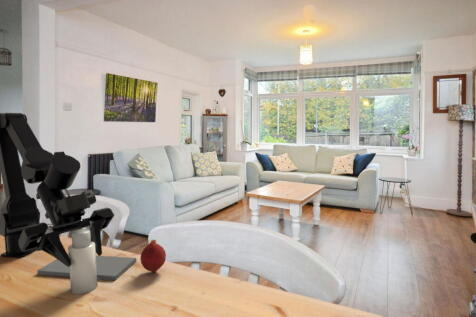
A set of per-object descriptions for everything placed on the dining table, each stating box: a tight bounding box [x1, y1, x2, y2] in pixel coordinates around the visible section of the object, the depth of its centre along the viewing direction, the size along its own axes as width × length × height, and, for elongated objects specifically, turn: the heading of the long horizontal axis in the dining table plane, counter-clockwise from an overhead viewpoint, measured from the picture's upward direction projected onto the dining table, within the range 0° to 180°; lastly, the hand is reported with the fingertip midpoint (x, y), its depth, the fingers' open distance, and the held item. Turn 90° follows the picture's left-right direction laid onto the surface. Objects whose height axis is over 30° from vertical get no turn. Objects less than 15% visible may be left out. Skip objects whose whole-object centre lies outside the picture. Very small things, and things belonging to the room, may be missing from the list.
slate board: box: [36, 255, 137, 281], centre depth 79 cm, size 20×10×1 cm, turn 81°
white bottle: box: [67, 228, 98, 295], centre depth 69 cm, size 5×5×12 cm
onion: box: [139, 238, 167, 273], centre depth 76 cm, size 6×6×8 cm
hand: (85, 260), depth 68 cm, fingers open, 6 cm apart
